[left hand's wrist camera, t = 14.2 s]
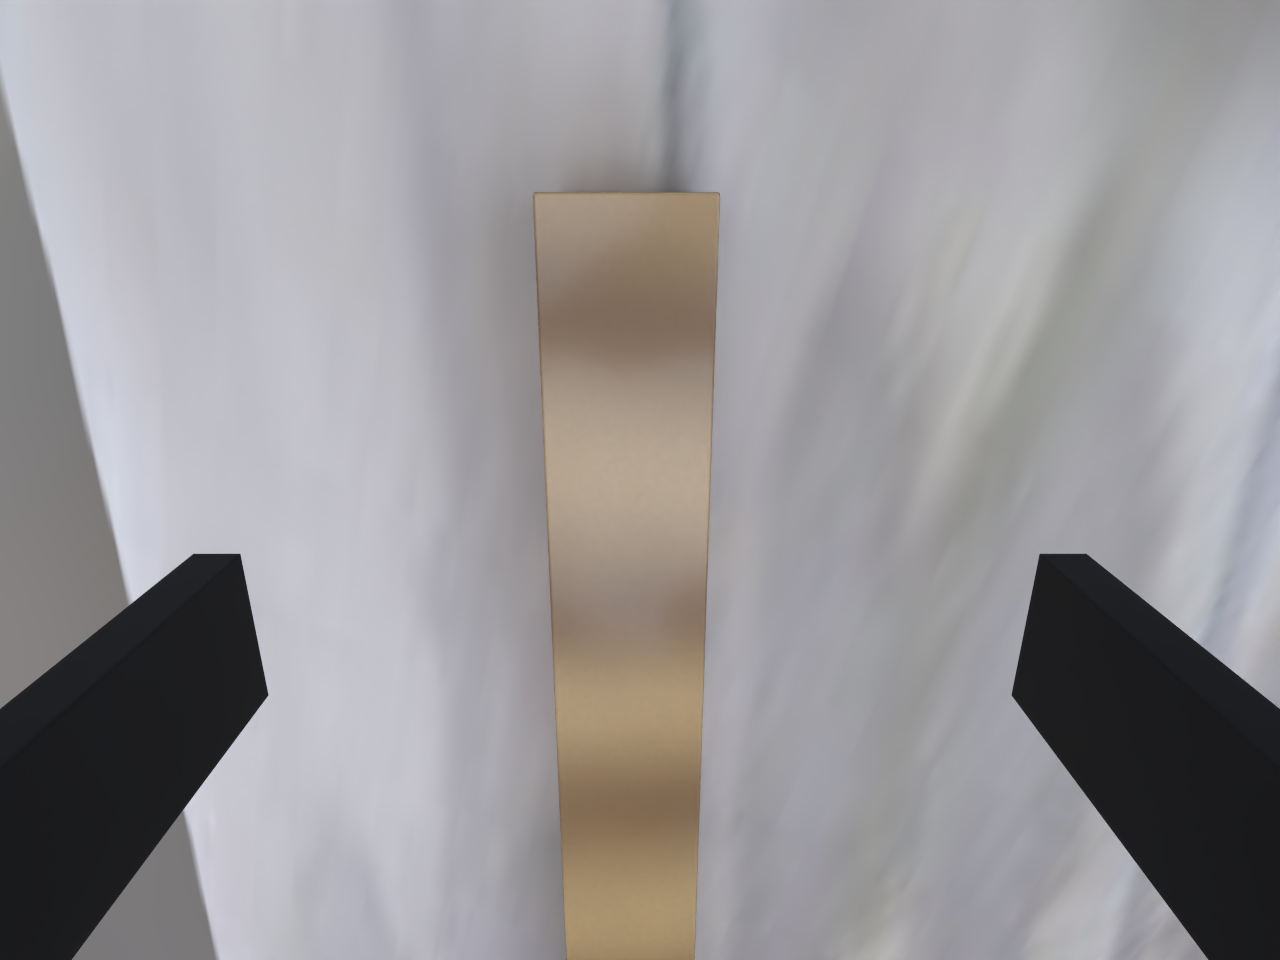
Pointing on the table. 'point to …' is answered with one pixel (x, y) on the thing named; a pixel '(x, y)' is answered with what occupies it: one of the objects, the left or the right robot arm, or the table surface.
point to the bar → (628, 551)
